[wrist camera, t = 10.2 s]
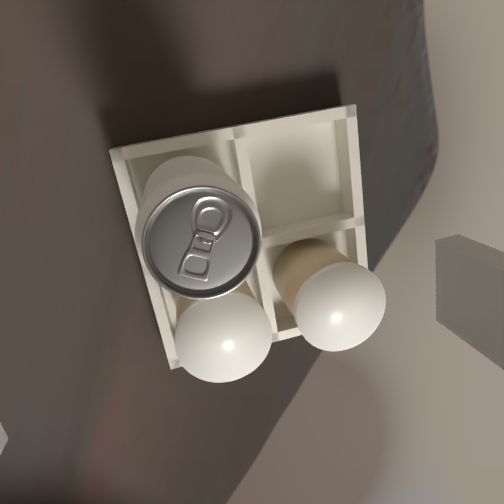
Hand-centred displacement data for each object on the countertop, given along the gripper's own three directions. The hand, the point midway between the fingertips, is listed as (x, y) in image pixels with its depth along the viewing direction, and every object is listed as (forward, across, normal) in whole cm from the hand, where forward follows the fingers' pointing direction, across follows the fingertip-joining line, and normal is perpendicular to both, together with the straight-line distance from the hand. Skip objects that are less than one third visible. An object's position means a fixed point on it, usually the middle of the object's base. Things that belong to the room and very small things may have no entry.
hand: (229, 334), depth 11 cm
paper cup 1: (+20, 0, -8) cm, 22 cm away
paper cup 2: (+20, +8, -8) cm, 23 cm away
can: (+20, 0, 0) cm, 20 cm away
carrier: (+21, +4, -4) cm, 21 cm away
